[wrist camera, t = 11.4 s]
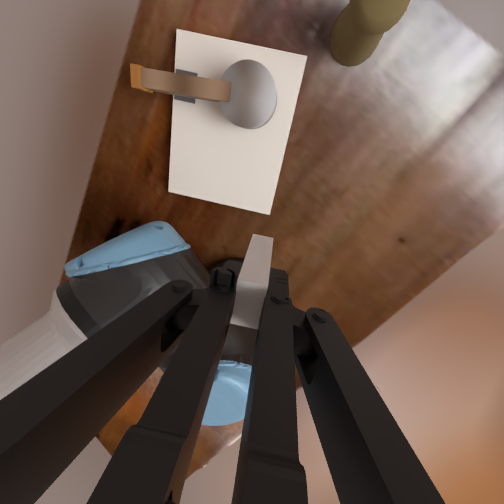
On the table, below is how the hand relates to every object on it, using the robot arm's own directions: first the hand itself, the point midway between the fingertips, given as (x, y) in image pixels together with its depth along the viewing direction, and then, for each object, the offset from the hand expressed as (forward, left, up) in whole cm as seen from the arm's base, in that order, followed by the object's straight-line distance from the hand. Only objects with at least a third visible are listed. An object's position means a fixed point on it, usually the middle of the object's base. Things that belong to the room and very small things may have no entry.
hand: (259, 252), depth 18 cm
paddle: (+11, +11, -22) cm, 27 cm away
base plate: (+7, +8, -24) cm, 26 cm away
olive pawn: (+21, -5, -24) cm, 32 cm away
